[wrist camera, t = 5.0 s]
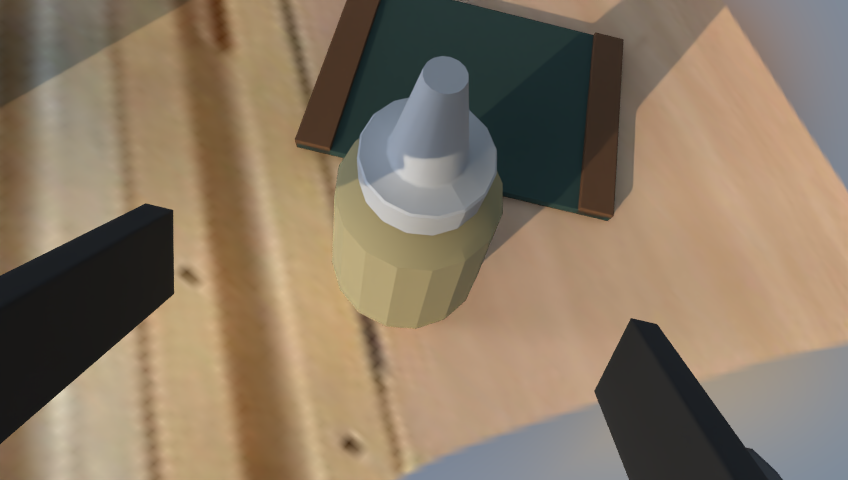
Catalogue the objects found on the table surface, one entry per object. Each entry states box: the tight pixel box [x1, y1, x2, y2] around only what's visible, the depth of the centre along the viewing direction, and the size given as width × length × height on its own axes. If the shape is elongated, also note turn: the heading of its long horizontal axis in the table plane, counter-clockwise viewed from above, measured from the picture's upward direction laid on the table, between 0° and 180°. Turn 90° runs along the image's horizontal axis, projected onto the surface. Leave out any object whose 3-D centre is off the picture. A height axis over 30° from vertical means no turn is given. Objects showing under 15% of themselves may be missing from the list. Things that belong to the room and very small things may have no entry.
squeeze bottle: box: [332, 56, 503, 329], centre depth 19 cm, size 8×8×18 cm
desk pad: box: [295, 0, 623, 221], centre depth 33 cm, size 22×16×1 cm
